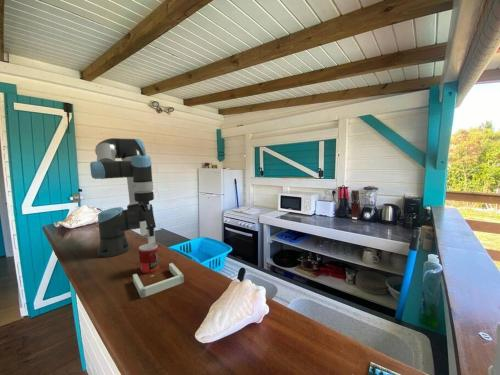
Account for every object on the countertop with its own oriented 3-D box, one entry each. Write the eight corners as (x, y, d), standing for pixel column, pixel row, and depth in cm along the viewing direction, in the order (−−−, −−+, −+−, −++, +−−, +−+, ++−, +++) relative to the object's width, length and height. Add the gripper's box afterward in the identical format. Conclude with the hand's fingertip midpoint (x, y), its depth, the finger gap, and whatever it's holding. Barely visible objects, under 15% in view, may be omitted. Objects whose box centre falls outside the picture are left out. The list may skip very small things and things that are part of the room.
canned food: (152, 274, 94) (150, 250, 93) (136, 272, 96) (134, 249, 94) (163, 266, 102) (161, 243, 100) (147, 264, 103) (146, 242, 102)
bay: (133, 281, 89) (132, 274, 88) (172, 269, 99) (172, 262, 98) (141, 298, 78) (140, 290, 78) (184, 282, 88) (183, 275, 88)
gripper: (128, 189, 101) (132, 233, 104) (140, 195, 82) (145, 249, 85) (146, 188, 106) (149, 230, 109) (161, 193, 87) (165, 244, 89)
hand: (147, 238), depth 97 cm, fingers open, 13 cm apart
